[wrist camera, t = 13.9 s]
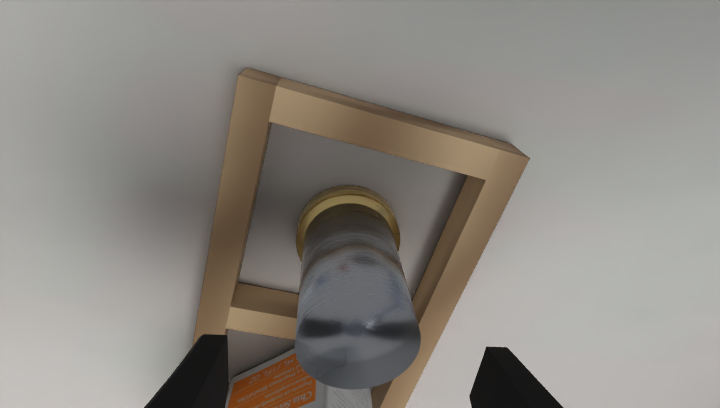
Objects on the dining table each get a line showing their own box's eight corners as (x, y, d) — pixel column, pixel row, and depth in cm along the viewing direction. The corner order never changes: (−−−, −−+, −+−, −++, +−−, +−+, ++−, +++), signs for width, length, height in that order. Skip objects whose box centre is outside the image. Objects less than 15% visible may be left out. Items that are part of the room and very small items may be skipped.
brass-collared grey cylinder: (403, 189, 17) (445, 290, 11) (388, 273, 19) (416, 397, 13) (300, 181, 16) (287, 282, 11) (295, 268, 18) (280, 395, 12)
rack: (512, 144, 16) (529, 158, 15) (365, 451, 24) (368, 479, 23) (247, 67, 14) (238, 75, 13) (183, 429, 22) (173, 458, 21)
